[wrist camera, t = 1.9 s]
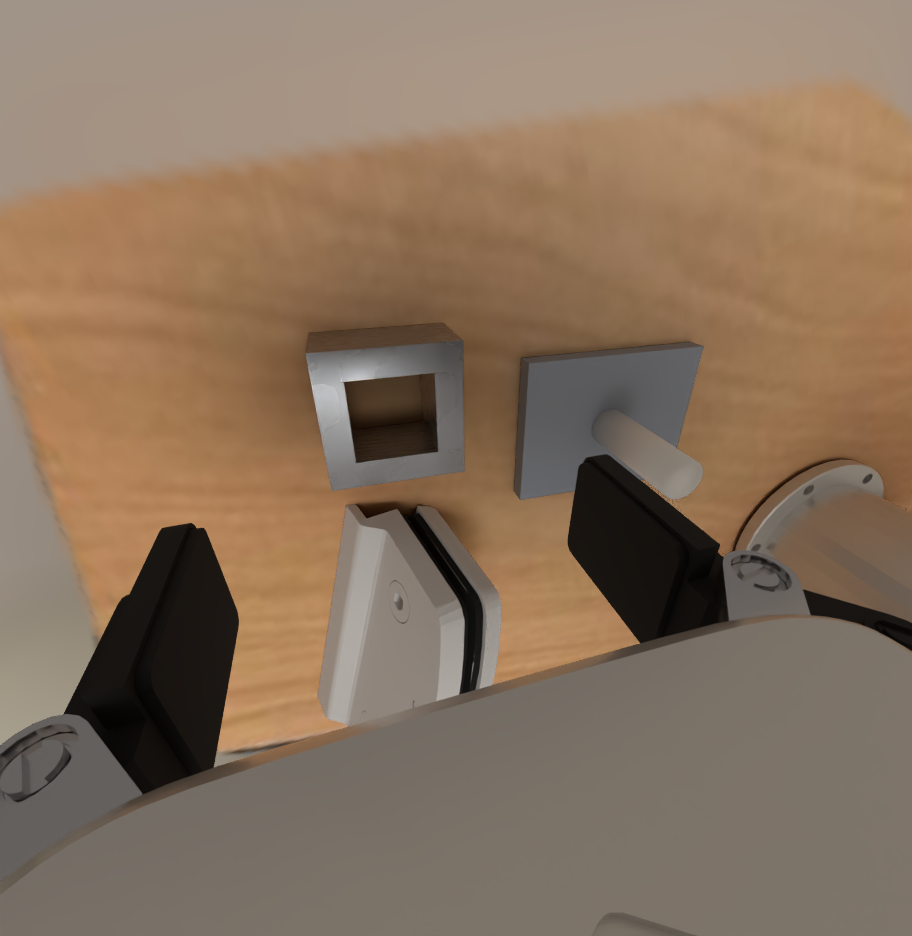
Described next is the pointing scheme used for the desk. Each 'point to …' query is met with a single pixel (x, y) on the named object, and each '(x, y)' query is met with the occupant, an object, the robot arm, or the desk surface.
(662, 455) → the keeper
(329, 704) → the grey slotted holder
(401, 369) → the grey square hollow block
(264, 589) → the desk surface
